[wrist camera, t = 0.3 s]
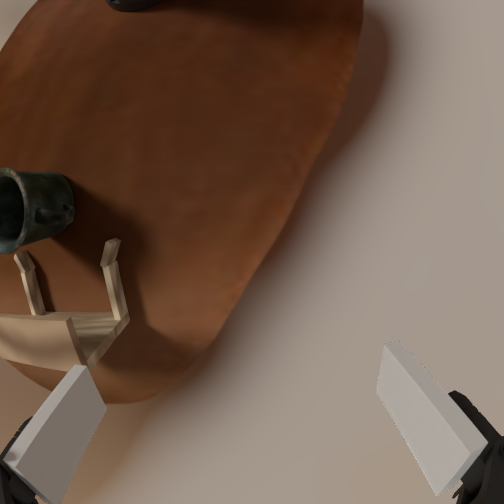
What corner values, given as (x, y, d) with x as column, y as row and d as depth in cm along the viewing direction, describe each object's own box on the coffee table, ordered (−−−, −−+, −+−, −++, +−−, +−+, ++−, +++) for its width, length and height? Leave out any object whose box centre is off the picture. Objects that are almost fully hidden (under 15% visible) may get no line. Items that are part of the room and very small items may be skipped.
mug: (34, 166, 33) (-16, 165, 21) (101, 175, 34) (51, 173, 23) (27, 230, 35) (-21, 244, 24) (91, 248, 36) (44, 270, 25)
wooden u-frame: (23, 250, 36) (-37, 274, 21) (120, 236, 36) (59, 264, 21) (40, 318, 39) (-9, 357, 24) (137, 320, 39) (94, 378, 24)
